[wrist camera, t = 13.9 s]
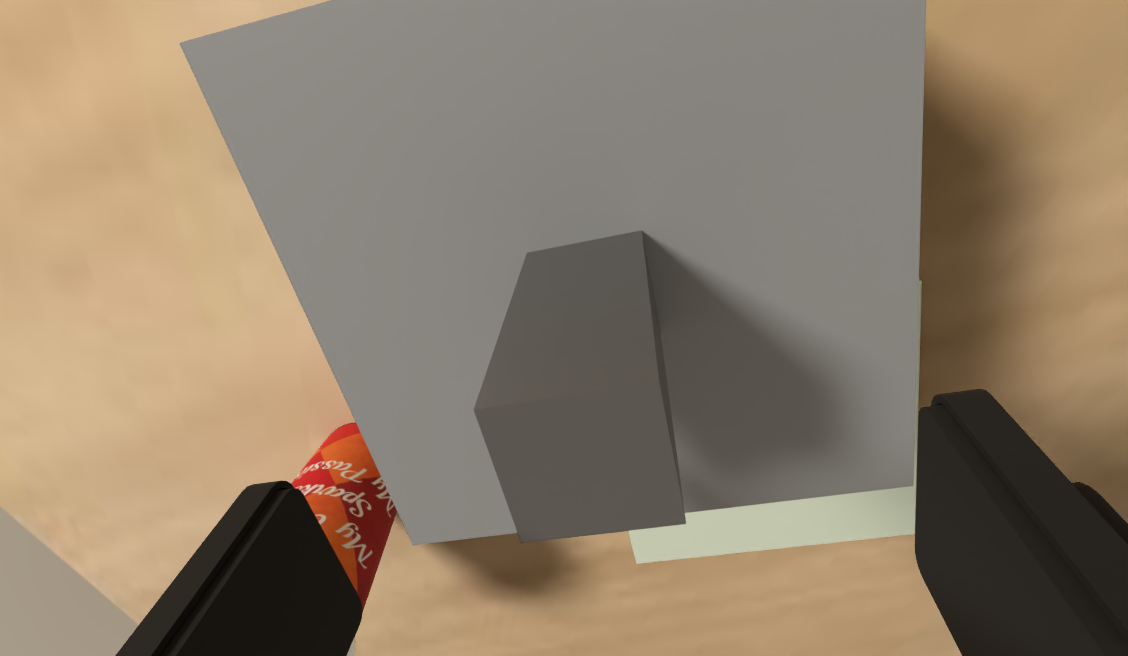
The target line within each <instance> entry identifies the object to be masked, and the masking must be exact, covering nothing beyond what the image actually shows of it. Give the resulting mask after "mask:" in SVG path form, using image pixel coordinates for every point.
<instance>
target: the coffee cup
mask: <svg viewBox="0 0 1128 656" xmlns="http://www.w3.org/2000/svg"><path fill="white" fill-rule="evenodd" d="M292 486H293V487H294V488H296V489H299V490H300V491H301V492H302V493H303V494H304V496H305V498H306V500H307V501H308V503H309V505H310V507H311V509H312V511H313V513H314V514H315V516H316V518H317V520H318V522H319V524H320V525H321V527H322V529H323V531H324V533H325V535H326V536H327V538H328V540H329V542H330V544H331V546H332V547H333V549H334V551H335V553H336V555H337V557H338V559H339V560H340V562H341V564H342V566H343V568H344V570H345V571H346V573H347V575H348V577H349V579H350V581H351V582H352V584H353V586H354V588H355V590H356V592H357V594H358V595H359V597H360V600H361V603H362V612H363V609H364V606H365V603H366V600H367V598H368V595H369V592H370V589H371V586H372V583H373V580H374V577H375V574H376V571H377V568H378V565H379V562H380V559H381V556H382V554H383V551H384V548H385V545H386V542H387V539H388V536H389V533H390V530H391V527H392V524H393V521H394V518H395V515H396V512H397V510H396V507H395V505H394V503H393V501H392V499H391V497H390V495H389V492H388V490H387V488H386V486H385V484H384V482H383V480H382V477H381V475H380V473H379V471H378V469H377V467H376V464H375V462H374V460H373V458H372V456H371V454H370V452H369V449H368V447H367V445H366V443H365V441H364V439H363V437H362V434H361V432H360V430H359V428H358V426H357V424H356V423H350V424H346V425H343V426H341V427H339V428H338V429H336V430H335V431H334V432H333V433H332V434H331V435H330V436H329V437H328V438H327V439H326V440H325V442H324V443H323V444H322V445H321V446H320V448H319V449H318V450H317V451H316V453H315V454H314V455H313V457H312V458H311V459H310V460H309V462H308V463H307V464H306V466H305V467H304V468H303V469H302V471H301V472H300V473H299V475H298V476H297V477H296V478H295V480H294V481H293V482H292ZM355 652H356V642H355V638H354V639H353V642H352V644H351V646H350V649H349V651H348V653H347V656H354V655H355Z"/></svg>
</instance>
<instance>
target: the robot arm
mask: <svg viewBox="0 0 1128 656" xmlns="http://www.w3.org/2000/svg"><path fill="white" fill-rule="evenodd" d="M915 554H916V560H917V564H918V567H919V570H920V573H921V575H922V577H923V579H924V581H925V583H926V585H927V587H928V589H929V591H930V593H931V595H932V597H933V599H934V601H935V603H936V605H937V607H938V609H939V611H940V613H941V615H942V617H943V619H944V621H945V623H946V625H947V627H948V629H949V631H950V632H951V634H952V636H953V638H954V640H955V642H956V644H957V646H958V648H959V650H960V652H961V654H962V656H1128V524H1127V523H1126V522H1125V521H1124V520H1123V518H1122V517H1121V516H1120V515H1119V514H1118V513H1117V512H1116V511H1115V510H1114V509H1113V508H1112V507H1111V506H1110V505H1109V504H1108V503H1107V502H1106V500H1105V499H1104V498H1103V497H1102V496H1101V495H1099V494H1098V493H1097V492H1096V491H1095V490H1094V489H1092V488H1091V487H1090V486H1088V485H1085V484H1083V483H1080V482H1076V483H1071V482H1070V481H1069V480H1068V479H1067V478H1066V477H1065V475H1064V474H1063V473H1062V472H1061V471H1060V470H1059V469H1058V468H1057V467H1056V466H1055V464H1054V463H1053V462H1052V461H1051V460H1050V459H1049V458H1048V457H1047V456H1046V455H1045V454H1044V452H1043V451H1042V450H1041V449H1040V448H1039V447H1038V446H1037V445H1036V444H1035V443H1034V441H1033V440H1032V439H1031V438H1030V437H1029V436H1028V435H1027V434H1026V433H1025V432H1024V430H1023V429H1022V428H1021V427H1020V426H1019V425H1018V424H1017V423H1016V422H1015V421H1014V419H1013V418H1012V417H1011V416H1010V415H1009V414H1008V413H1007V412H1006V411H1005V410H1004V408H1003V407H1002V406H1001V405H1000V404H999V403H998V402H997V401H996V400H995V399H994V397H993V396H992V395H991V394H990V393H988V392H987V391H986V390H983V389H976V390H969V391H961V392H954V393H946V394H938V395H936V396H934V398H933V400H932V404H931V407H923V408H921V409H920V411H919V416H918V451H917V488H916V526H915ZM361 618H362V603H361V600H360V597H359V595H358V594H357V592H356V590H355V588H354V586H353V584H352V582H351V581H350V579H349V577H348V575H347V573H346V571H345V570H344V568H343V566H342V564H341V562H340V560H339V559H338V557H337V555H336V553H335V551H334V549H333V547H332V546H331V544H330V542H329V540H328V538H327V536H326V535H325V533H324V531H323V529H322V527H321V525H320V524H319V522H318V520H317V518H316V516H315V514H314V513H313V511H312V509H311V507H310V505H309V503H308V501H307V500H306V498H305V496H304V494H303V493H302V492H301V491H300V490H299V489H296V488H294V487H293V486H292V484H290V483H289V482H287V481H276V482H268V483H261V484H253V485H250V486H248V487H246V488H245V489H244V490H243V491H242V492H241V494H240V495H239V496H238V498H237V499H236V500H235V502H234V503H233V504H232V505H231V507H230V508H229V509H228V511H227V512H226V513H225V514H224V516H223V517H222V518H221V520H220V521H219V522H218V524H217V525H216V526H215V527H214V529H213V530H212V531H211V533H210V534H209V535H208V536H207V538H206V539H205V540H204V542H203V543H202V544H201V546H200V547H199V548H198V549H197V551H196V552H195V553H194V555H193V556H192V557H191V558H190V560H189V561H188V562H187V564H186V565H185V566H184V568H183V569H182V570H181V571H180V573H179V574H178V575H177V577H176V578H175V579H174V580H173V582H172V583H171V584H170V586H169V587H168V588H167V590H166V591H165V592H164V593H163V595H162V596H161V597H160V599H159V600H158V601H157V603H156V604H155V605H154V606H153V608H152V609H151V610H150V612H149V613H148V614H147V615H146V617H145V618H144V619H143V621H142V622H141V623H140V625H139V626H138V627H137V628H136V630H135V631H134V633H133V634H132V635H131V636H130V637H129V639H128V640H127V641H126V643H125V644H124V645H123V647H122V648H121V649H120V651H119V652H118V653H117V654H116V656H347V653H348V651H349V649H350V646H351V644H352V642H353V639H354V637H355V634H356V632H357V630H358V627H359V625H360V622H361Z"/></svg>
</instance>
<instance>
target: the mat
mask: <svg viewBox="0 0 1128 656" xmlns="http://www.w3.org/2000/svg"><path fill="white" fill-rule="evenodd" d="M921 293H922V281H921V280H920V279H919V293H918V332H917V370H916V409H915V447H914V486H909V487H901V488H893V489H884V490H876V491H867V492H859V493H850V494H842V495H833V496H825V497H817V498H808V499H800V500H791V501H783V502H774V503H766V504H757V505H749V506H741V507H732V508H724V509H715V510H707V511H698V512H690V513H685V517H686V524H682V525H674V526H665V527H656V528H648V529H639V530H630V531H628V532H629V536H630V540H631V544H632V548H633V552H634V556H635V560H636V564H638V563H647V562H656V561H666V560H675V559H684V558H694V557H703V556H713V555H722V554H731V553H741V552H750V551H759V550H769V549H778V548H788V547H797V546H806V545H816V544H825V543H834V542H844V541H853V540H863V539H872V538H881V537H891V536H900V535H909V534H915V508H916V472H917V436H918V400H919V364H920V329H921Z"/></svg>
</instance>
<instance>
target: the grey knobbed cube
mask: <svg viewBox="0 0 1128 656" xmlns="http://www.w3.org/2000/svg"><path fill="white" fill-rule="evenodd" d="M925 24H926V0H331V1H327V2H324V3H320V4H317V5H313V6H309V7H306V8H302V9H299V10H295V11H292V12H288V13H284V14H281V15H277V16H274V17H270V18H267V19H263V20H260V21H256V22H252V23H249V24H245V25H242V26H238V27H235V28H231V29H228V30H224V31H220V32H217V33H213V34H210V35H206V36H203V37H199V38H196V39H192V40H188V41H185V42H181V43H180V45H181V48H182V50H183V52H184V54H185V56H186V58H187V61H188V63H189V65H190V67H191V69H192V71H193V73H194V76H195V78H196V80H197V82H198V84H199V86H200V88H201V91H202V93H203V95H204V97H205V99H206V101H207V104H208V106H209V108H210V110H211V112H212V114H213V116H214V119H215V121H216V123H217V125H218V127H219V129H220V131H221V134H222V136H223V138H224V140H225V142H226V144H227V146H228V149H229V151H230V153H231V155H232V157H233V159H234V162H235V164H236V166H237V168H238V170H239V172H240V174H241V177H242V179H243V181H244V183H245V185H246V187H247V189H248V192H249V194H250V196H251V198H252V200H253V202H254V204H255V207H256V209H257V211H258V213H259V215H260V217H261V220H262V222H263V224H264V226H265V228H266V230H267V232H268V235H269V237H270V239H271V241H272V243H273V245H274V247H275V250H276V252H277V254H278V256H279V258H280V260H281V262H282V265H283V267H284V269H285V271H286V273H287V275H288V278H289V280H290V282H291V284H292V286H293V288H294V290H295V293H296V295H297V297H298V299H299V301H300V303H301V305H302V308H303V310H304V312H305V314H306V316H307V318H308V321H309V323H310V325H311V327H312V329H313V331H314V333H315V336H316V338H317V340H318V342H319V344H320V346H321V348H322V351H323V353H324V355H325V357H326V359H327V361H328V363H329V366H330V368H331V370H332V372H333V374H334V376H335V379H336V381H337V383H338V385H339V387H340V389H341V391H342V394H343V396H344V398H345V400H346V402H347V404H348V406H349V409H350V411H351V413H352V415H353V417H354V419H355V421H356V424H357V426H358V428H359V430H360V432H361V434H362V437H363V439H364V441H365V443H366V445H367V447H368V449H369V452H370V454H371V456H372V458H373V460H374V462H375V464H376V467H377V469H378V471H379V473H380V475H381V477H382V480H383V482H384V484H385V486H386V488H387V490H388V492H389V495H390V497H391V499H392V501H393V503H394V505H395V507H396V510H397V512H398V514H399V516H400V518H401V520H402V522H403V525H404V527H405V529H406V531H407V533H408V535H409V538H410V540H411V542H412V544H413V545H420V544H428V543H437V542H445V541H454V540H462V539H470V538H479V537H487V536H496V535H504V534H513V533H518V536H519V538H520V541H521V543H527V542H535V541H544V540H553V539H561V538H570V537H579V536H587V535H596V534H605V533H613V532H622V531H630V530H639V529H648V528H656V527H665V526H674V525H682V524H686V517H685V513H690V512H698V511H707V510H715V509H724V508H732V507H741V506H749V505H757V504H766V503H774V502H783V501H791V500H800V499H808V498H817V497H825V496H833V495H842V494H850V493H859V492H867V491H876V490H884V489H893V488H901V487H909V486H914V447H915V409H916V370H917V332H918V293H919V255H920V217H921V178H922V140H923V101H924V63H925Z"/></svg>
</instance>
